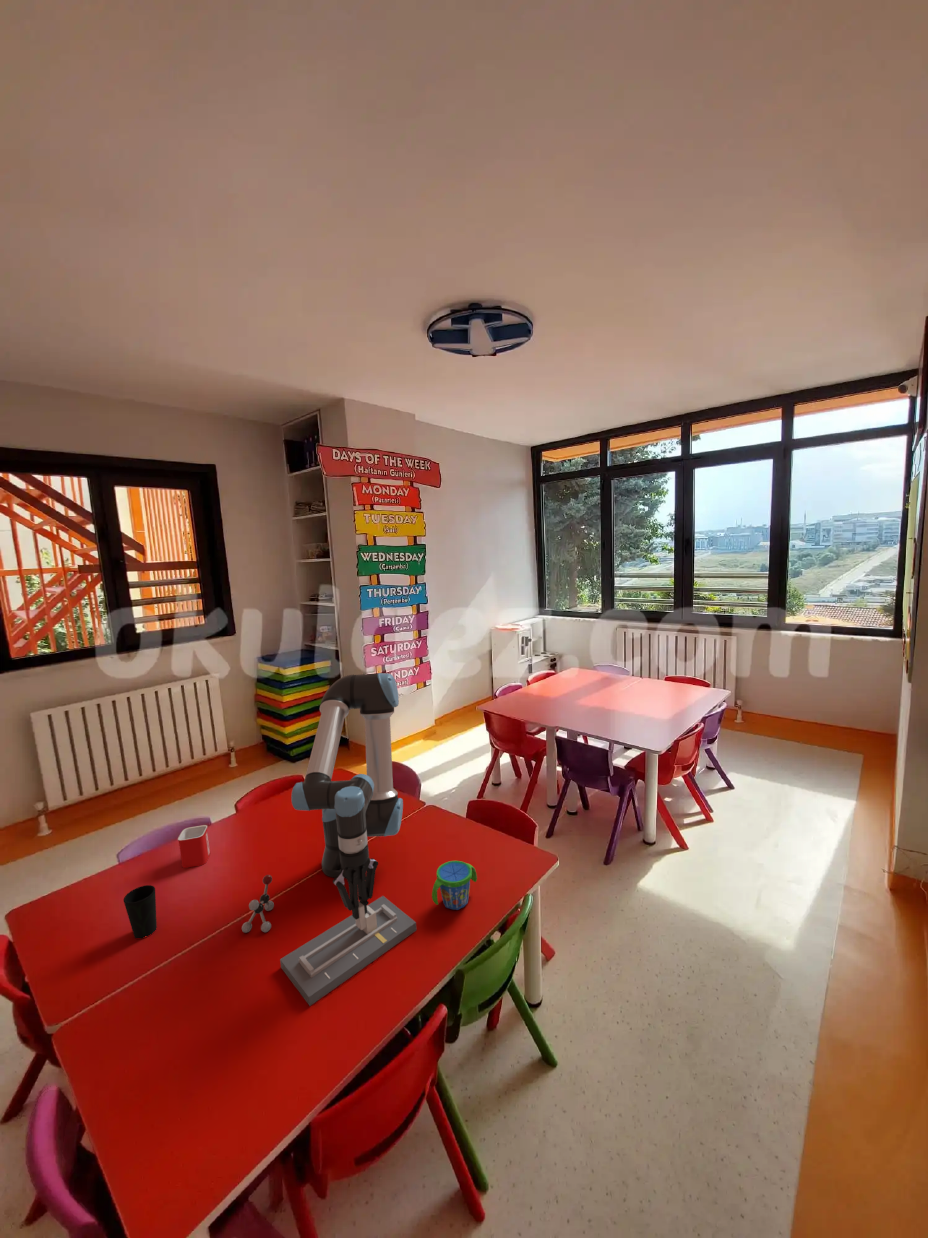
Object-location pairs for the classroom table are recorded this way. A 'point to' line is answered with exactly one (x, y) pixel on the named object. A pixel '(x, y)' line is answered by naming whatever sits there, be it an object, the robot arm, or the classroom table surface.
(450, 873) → the snack cup
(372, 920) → the fader tab
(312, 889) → the classroom table surface
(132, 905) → the cup
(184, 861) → the mug
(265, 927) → the molecular model
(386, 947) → the panel
